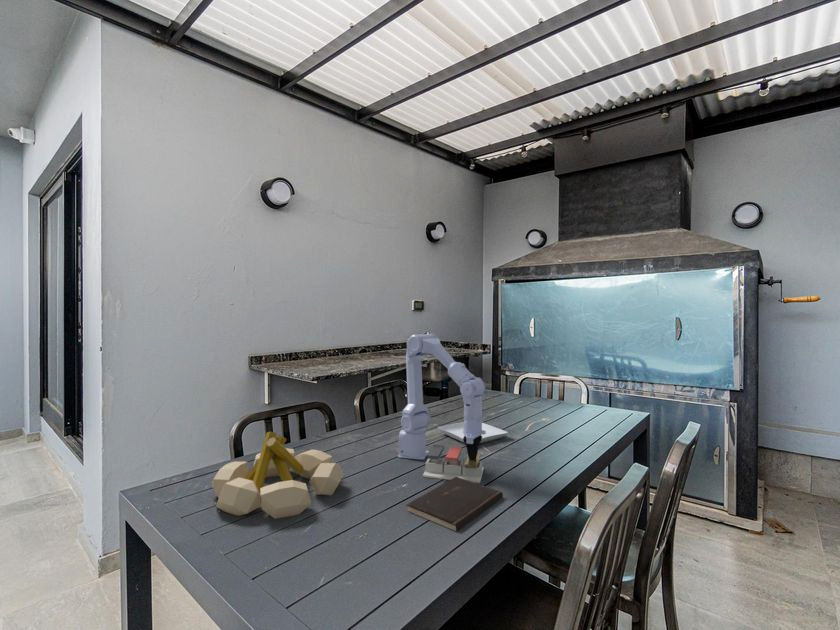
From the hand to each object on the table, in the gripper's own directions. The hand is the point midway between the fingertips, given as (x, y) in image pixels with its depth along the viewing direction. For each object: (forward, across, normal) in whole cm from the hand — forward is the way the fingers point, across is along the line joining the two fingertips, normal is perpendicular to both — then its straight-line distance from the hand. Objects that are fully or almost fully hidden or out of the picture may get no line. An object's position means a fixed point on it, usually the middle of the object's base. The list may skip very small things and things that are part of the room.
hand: (472, 459), depth 133 cm
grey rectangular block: (+2, 0, +12) cm, 12 cm away
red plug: (+2, 0, +6) cm, 6 cm away
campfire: (+6, -26, +53) cm, 59 cm away
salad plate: (+6, +39, +5) cm, 40 cm away
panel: (+5, 0, +6) cm, 8 cm away
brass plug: (+4, 0, 0) cm, 4 cm away
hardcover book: (+6, -20, +2) cm, 21 cm away
